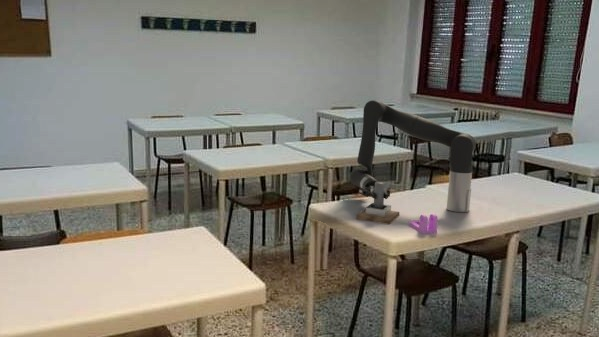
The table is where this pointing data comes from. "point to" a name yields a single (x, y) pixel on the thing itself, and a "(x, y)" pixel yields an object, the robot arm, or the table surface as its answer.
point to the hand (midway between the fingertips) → (381, 196)
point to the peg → (379, 195)
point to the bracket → (425, 224)
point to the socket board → (378, 214)
